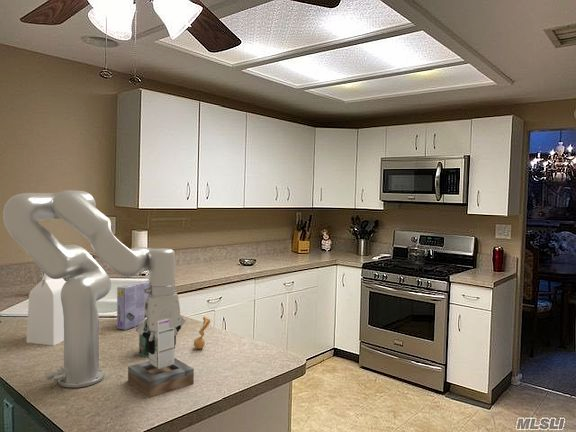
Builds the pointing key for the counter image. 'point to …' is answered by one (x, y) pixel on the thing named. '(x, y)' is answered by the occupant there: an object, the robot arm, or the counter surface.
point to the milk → (46, 312)
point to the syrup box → (163, 345)
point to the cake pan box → (131, 305)
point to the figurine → (199, 341)
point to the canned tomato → (143, 344)
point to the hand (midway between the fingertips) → (161, 349)
